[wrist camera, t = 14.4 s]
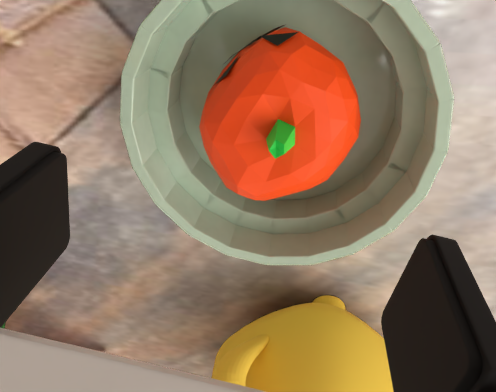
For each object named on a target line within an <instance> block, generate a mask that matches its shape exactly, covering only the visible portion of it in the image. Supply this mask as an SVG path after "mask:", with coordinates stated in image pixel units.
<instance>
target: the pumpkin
mask: <svg viewBox="0 0 496 392" xmlns="http://www.w3.org/2000/svg"><path fill="white" fill-rule="evenodd" d="M285 25H286V24H285ZM283 26H284V25H283ZM283 26H280V27H277V28H274V29H273V30H271V31H269V32H267V33H265V34H264V35H262V36H260V37H258V38H256V39H255V40H253V41H252V42H250V43H249V44H248V45H246V46H245V47H244V48H242V49H241V50H240V51H238V52H237V54H236V53H235V54H236V56H235V57H234V58H233V59H232V60H231V61H230V62H229V63H228V65H227V66H226V67H225V68H224V69H223V70H222V72H221V73H220V75H219V77H218V78H217V80H216V81H215V83H214V84H213V86H212V88H211V89H210V91H209V92H208V95H207V98H206V102H205V105H204V108H203V111H202V116H201V121H200V125H199V128H200V132H201V137H202V141H203V145H204V148H205V151H206V153H207V155H208V158H209V160H210V162H211V164H212V166H213V167H214V169H215V170H216V172H217V173H218V175H219V177H220V178H221V180H222V181H223V183H224V185H225V186H226V188H228V189H230V190H232V191H233V192H235V193H237V194H239V195H241V196H243V197H246V198H249V199H252V200H260V201H266V200H270V199H274V198H278V197H282V196H286V195H290V194H294V193H297V192H301V191H304V190H308V189H311V188H313V187H315V186H317V185H319V184H321V183H323V182H325V181H327V180H328V179H329V177H330V176H331V175H332V174H333V173H334V171H335V170H336V169H337V168H338V167H339V165H340V164H341V163H342V162H343V161H344V159H345V157H346V156H347V154H348V153H349V151H350V150H351V148H352V146H353V145H354V143H355V142H356V140H357V139H358V136H359V129H360V123H361V117H360V110H359V102H358V95H357V92H356V90H355V87H354V85H353V83H352V80H351V78H350V76H349V74H348V72H347V70H346V67H345V65H344V63H343V62H342V61H341V60H339V59H338V58H337V57H336V56H334V55H333V54H332V53H331V52H329V51H328V50H327V49H325V48H324V47H323V46H322V45H320V44H318V43H317V42H315V41H314V40H312V39H311V38H309V37H307V36H306V35H304V34H303V33H301V32H300V31H296V30H293V29H290V28H286V27H284V28H282V29H279V28H281V27H283ZM277 29H279V30H277ZM275 30H276V31H275ZM260 38H261V39H260ZM235 54H233V55H235ZM233 55H232V56H233ZM232 56H231V57H232ZM231 57H230V58H231ZM230 58H229V59H230ZM229 59H228V60H229ZM228 60H227V61H228ZM227 61H226V62H227ZM226 62H225V63H226ZM225 63H224V64H225Z"/></svg>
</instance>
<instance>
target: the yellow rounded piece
mask: <svg viewBox="0 0 496 392" xmlns="http://www.w3.org/2000/svg"><path fill="white" fill-rule="evenodd" d="M211 378H213V379H217V380H221V381H225V382H229V383H233V384H237V385H241V386H245V387H249V388H254V389H258V390H262V391H266V392H394V391H393V386H392V380H391V375H390V369H389V363H388V358H387V352H386V347H385V341H384V338H383V337H382V336H380V335H379V334H378V333H377V332H376V331H375V330H373V329H372V328H371V327H370V326H368V325H367V324H366V323H365V322H363V321H362V320H360V319H359V318H357V317H356V316H354V315H353V314H351V313H349V312H347V311H346V310H345V305H344V303H343V302H342V301H341V300H340V299H339V298H337V297H334V296H330V295H325V296H320V297H318V298H316V299H315V300H314V301H313V302H312V303H305V304H299V305H294V306H291V307H287V308H284V309H281V310H278V311H275V312H272V313H270V314H268V315H265V316H263V317H261V318H259V319H257V320H255V321H253V322H251V323H250V324H248V325H246V326H244V327H243V328H241V329H240V330H239V331H237V332H236V333H234V334H233V335H232V336H230V337H229V338H228V339H227V340H226V341H225V342H224V343H223V345H222V346H221V348H220V349H219V351H218V353H217V355H216V359H215V364H214V368H213V374H212V377H211Z"/></svg>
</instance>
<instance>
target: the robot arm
mask: <svg viewBox="0 0 496 392" xmlns="http://www.w3.org/2000/svg"><path fill="white" fill-rule="evenodd" d="M69 239H70V226H69V203H68V179H67V159H66V156H65V155H64V154H62V153H61V151H60V149H59V148H58V147H56V146H52V145H48V144H43V143H39V142H33V143H31V144H30V145H28V146H27V147H25V148H24V149H23V150H21V151H20V152H18V153H17V154H15V155H14V156H12V157H11V158H10V159H8V160H7V161H5V162H4V163H2V164H1V165H0V392H266V391H262V390H258V389H254V388H249V387H245V386H241V385H237V384H233V383H229V382H225V381H221V380H217V379H213V378H209V377H204V376H200V375H196V374H192V373H188V372H184V371H180V370H176V369H172V368H167V367H163V366H159V365H155V364H151V363H147V362H143V361H138V360H134V359H130V358H126V357H122V356H118V355H114V354H109V353H105V352H101V351H97V350H93V349H88V348H84V347H80V346H76V345H71V344H67V343H63V342H59V341H55V340H50V339H46V338H42V337H38V336H34V335H29V334H25V333H21V332H17V331H12V330H8V329H4V328H1V327H2V325H3V324H4V323H5V322H6V321H7V319H8V318H9V317H10V316H11V314H12V313H13V312H14V311H15V310H16V308H17V307H18V306H19V305H20V304H21V302H22V301H23V300H24V299H25V298H26V296H27V295H28V294H29V293H30V291H31V290H32V289H33V288H34V287H35V285H36V284H37V283H38V282H39V281H40V279H41V278H42V277H43V276H44V275H45V273H46V272H47V271H48V270H49V268H50V267H51V266H52V265H53V264H54V262H55V261H56V260H57V259H58V258H59V256H60V255H61V254H62V253H63V252H64V250H65V249H66V247H67V245H68V243H69ZM381 323H382V330H383V336H384V341H385V347H386V352H387V358H388V363H389V369H390V375H391V380H392V386H393V391H394V392H496V322H495V320H494V318H493V315H492V313H491V311H490V309H489V307H488V305H487V303H486V301H485V299H484V297H483V295H482V293H481V291H480V289H479V287H478V285H477V283H476V281H475V278H474V276H473V274H472V272H471V270H470V268H469V266H468V264H467V262H466V260H465V258H464V256H463V254H462V252H461V250H460V248H459V246H458V244H457V242H456V241H455V240H453V239H448V238H444V237H440V236H436V235H430V236H429V237H428V238H427V239H424V238H423V239H421V240H420V241H419V242H418V244H417V246H416V248H415V250H414V252H413V254H412V256H411V258H410V260H409V262H408V264H407V266H406V268H405V270H404V272H403V274H402V276H401V278H400V280H399V282H398V283H397V285H396V287H395V289H394V291H393V293H392V295H391V297H390V299H389V301H388V303H387V305H386V307H385V309H384V311H383V314H382V321H381Z"/></svg>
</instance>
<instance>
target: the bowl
mask: <svg viewBox="0 0 496 392" xmlns="http://www.w3.org/2000/svg"><path fill="white" fill-rule="evenodd" d="M285 24H286V25H285ZM283 25H284V26H283ZM280 26H283V27H281V28H279V29H282V28H284V27H286V28H290V29H293V30H296V31H300V32H301V33H303V34H304V35H306V36H307V37H309V38H311V39H312V40H314V41H315V42H317V43H318V44H320V45H322V46H323V47H324V48H325V49H327V50H328V51H329V52H331V53H332V54H333V55H334V56H336V57H337V58H338V59H339V60H341V61H342V62H343V63H344V65H345V67H346V70H347V72H348V74H349V76H350V78H351V80H352V83H353V85H354V87H355V90H356V92H357V95H358V102H359V110H360V117H361V123H360V129H359V136H358V139H357V140H356V142H355V143H354V145H353V146H352V148H351V150H350V151H349V153H348V154H347V156H346V157H345V159H344V161H343V162H342V163H341V164H340V165H339V167H338V168H337V169H336V170H335V171H334V173H333V174H332V175H331V176H330V177H329V179H328V180H327V181H325V182H323V183H321V184H319V185H317V186H315V187H313V188H311V189H308V190H304V191H301V192H297V193H294V194H290V195H286V196H282V197H278V198H274V199H270V200H266V201H260V200H252V199H249V198H246V197H243V196H241V195H239V194H237V193H235V192H233V191H232V190H230V189H228V188H226V186H225V185H224V183H223V181H222V180H221V178H220V177H219V175H218V173H217V172H216V170H215V169H214V167H213V166H212V164H211V162H210V160H209V158H208V155H207V153H206V151H205V148H204V145H203V141H202V137H201V132H200V128H199V125H200V121H201V116H202V111H203V108H204V105H205V102H206V98H207V95H208V92H209V91H210V89H211V88H212V86H213V84H214V83H215V81H216V80H217V78H218V77H219V75H220V73H221V72H222V70H223V69H224V68H225V67H226V66H227V65H228V63H229V62H230V61H231V60H232V59H233V58H234V57H235V56H236V54H237V52H238V51H240V50H241V49H242V48H244V47H245V46H246V45H248V44H249V43H250V42H252V41H253V40H255V39H256V38H258V37H260V36H262V35H264V34H265V33H267V32H269V31H271V30H273V29H274V28H277V27H280ZM279 29H277V30H279ZM275 31H276V30H275ZM260 39H261V38H260ZM235 53H236V54H235ZM233 54H235V55H233ZM232 55H233V56H232ZM231 56H232V57H231ZM230 57H231V58H230ZM229 58H230V59H229ZM228 59H229V60H228ZM227 60H228V61H227ZM226 61H227V62H226ZM225 62H226V63H225ZM224 63H225V64H224ZM453 105H454V95H453V91H452V86H451V82H450V78H449V74H448V70H447V66H446V62H445V58H444V54H443V50H442V46H441V44H440V42H439V40H438V38H437V37H436V35H435V34H434V33H433V31H432V30H431V28H430V27H429V26H428V24H427V23H426V21H425V20H424V18H423V17H422V16H421V14H420V13H419V11H418V10H417V8H416V7H415V6H414V4H413V3H412V1H411V0H161V1H160V2H159V3H158V4H157V5H156V6H155V8H154V9H153V10H152V11H151V12H150V13H149V15H148V16H147V17H146V18H145V19H144V20H143V22H142V23H141V25H140V26H139V28H138V31H137V33H136V36H135V39H134V41H133V44H132V47H131V49H130V52H129V55H128V57H127V60H126V62H125V65H124V68H123V70H122V75H121V100H120V125H121V129H122V133H123V136H124V140H125V143H126V147H127V151H128V154H129V158H130V161H131V165H132V168H133V170H134V171H135V173H136V174H137V176H138V178H139V179H140V181H141V182H142V184H143V186H144V187H145V189H146V190H147V192H148V194H149V195H150V197H151V198H152V200H153V202H154V203H155V205H156V206H157V207H158V208H159V209H161V210H162V211H163V212H164V213H165V214H166V215H167V216H168V217H169V218H170V219H171V220H172V221H174V222H175V223H176V224H177V225H178V226H179V227H180V228H181V229H182V230H183V231H184V232H185V233H186V234H188V235H189V236H191V237H193V238H195V239H197V240H198V241H200V242H202V243H204V244H206V245H208V246H210V247H211V248H213V249H215V250H217V251H219V252H221V253H223V254H224V255H227V256H231V257H235V258H239V259H243V260H247V261H251V262H255V263H259V264H263V265H315V264H318V263H322V262H326V261H330V260H334V259H337V258H341V257H345V256H349V255H353V254H354V253H356V252H358V251H360V250H362V249H363V248H365V247H367V246H369V245H370V244H372V243H374V242H375V241H377V240H379V239H381V238H382V237H384V236H386V235H388V234H389V233H391V232H392V231H393V230H395V229H396V228H397V227H398V226H399V225H400V224H401V223H402V222H403V221H404V219H405V218H406V217H407V216H408V215H409V214H410V213H411V212H412V211H413V210H414V209H415V208H416V207H417V206H418V205H419V204H420V203H421V202H422V201H423V199H424V198H425V197H426V196H427V194H428V192H429V190H430V188H431V186H432V184H433V182H434V180H435V177H436V175H437V173H438V171H439V169H440V167H441V165H442V163H443V161H444V159H445V157H446V155H447V152H448V149H449V140H450V131H451V123H452V114H453Z"/></svg>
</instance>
